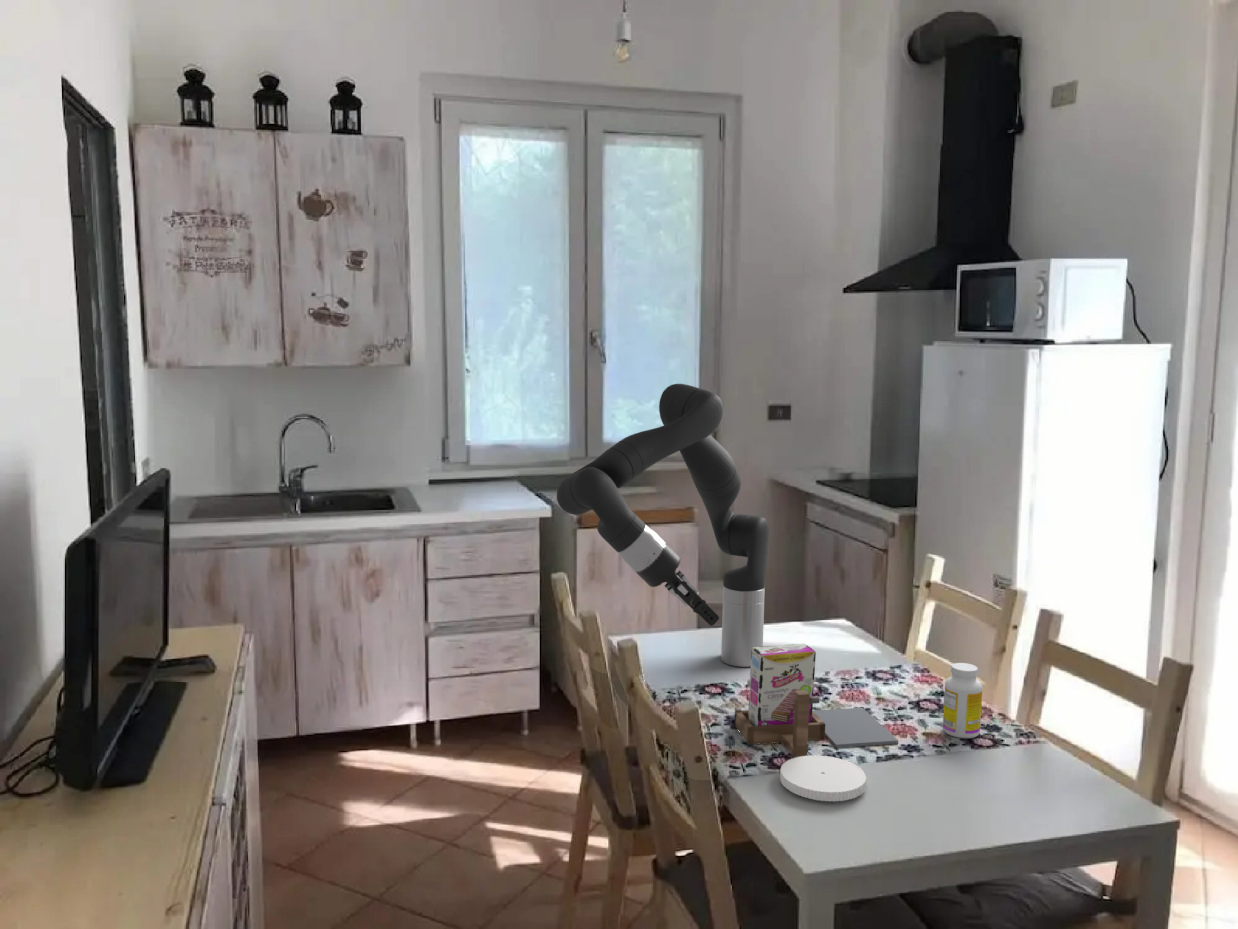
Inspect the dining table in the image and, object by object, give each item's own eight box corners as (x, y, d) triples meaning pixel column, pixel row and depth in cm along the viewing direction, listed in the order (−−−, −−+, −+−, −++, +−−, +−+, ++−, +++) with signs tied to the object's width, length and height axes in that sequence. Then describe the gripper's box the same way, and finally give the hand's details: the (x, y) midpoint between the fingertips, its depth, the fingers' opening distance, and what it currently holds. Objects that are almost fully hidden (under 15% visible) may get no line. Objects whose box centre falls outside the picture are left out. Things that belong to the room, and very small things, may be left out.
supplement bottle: (981, 729, 197) (985, 664, 195) (977, 742, 191) (982, 675, 189) (944, 723, 199) (948, 658, 197) (939, 735, 193) (943, 669, 192)
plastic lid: (800, 762, 182) (800, 748, 182) (877, 782, 175) (878, 768, 174) (766, 792, 170) (766, 778, 170) (847, 815, 163) (848, 800, 162)
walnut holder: (723, 710, 204) (725, 652, 202) (794, 706, 207) (796, 648, 205) (761, 762, 181) (763, 696, 179) (840, 757, 183) (843, 692, 182)
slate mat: (804, 714, 203) (804, 711, 203) (862, 710, 205) (862, 707, 205) (835, 747, 187) (836, 744, 187) (898, 743, 190) (898, 740, 189)
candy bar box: (758, 741, 190) (761, 655, 187) (747, 731, 194) (749, 646, 192) (813, 735, 193) (817, 650, 191) (801, 725, 198) (804, 641, 195)
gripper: (672, 548, 177) (735, 611, 181) (654, 531, 191) (713, 590, 195) (641, 579, 177) (704, 642, 181) (625, 560, 191) (684, 618, 195)
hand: (709, 615), depth 188 cm, fingers open, 8 cm apart
